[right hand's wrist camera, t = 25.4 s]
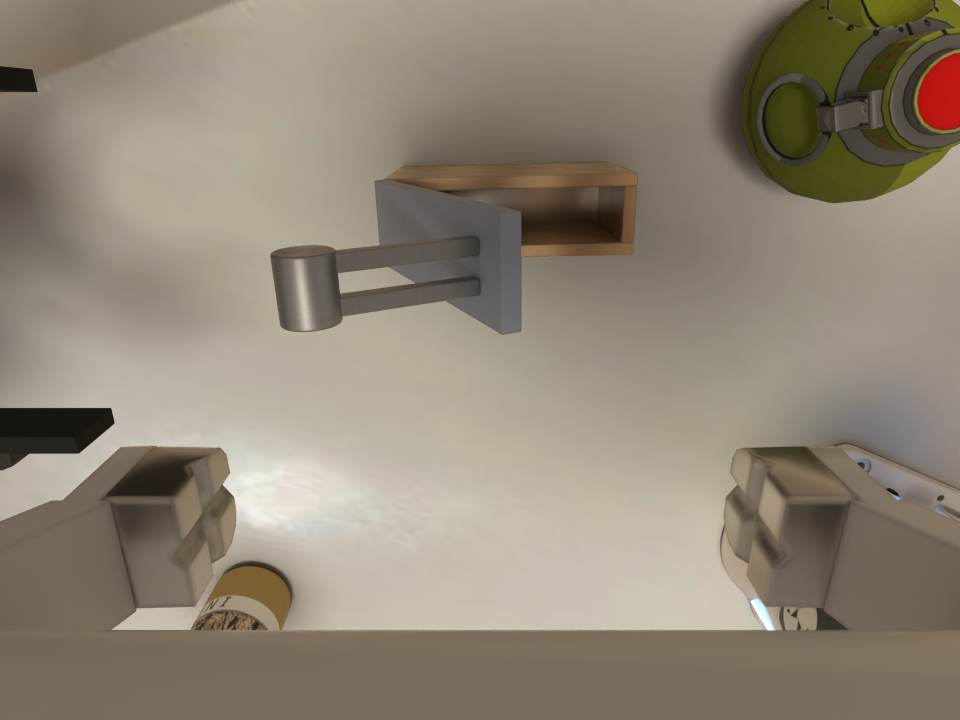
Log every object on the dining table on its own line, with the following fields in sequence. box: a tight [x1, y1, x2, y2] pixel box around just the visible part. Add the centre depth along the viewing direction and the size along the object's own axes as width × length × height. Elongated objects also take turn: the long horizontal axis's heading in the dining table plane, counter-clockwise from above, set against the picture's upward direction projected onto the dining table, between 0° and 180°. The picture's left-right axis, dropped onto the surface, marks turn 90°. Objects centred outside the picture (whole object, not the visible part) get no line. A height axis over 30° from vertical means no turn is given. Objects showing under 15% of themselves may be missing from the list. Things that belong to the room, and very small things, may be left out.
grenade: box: [741, 0, 960, 203], centre depth 35 cm, size 12×12×15 cm
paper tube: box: [191, 566, 291, 630], centre depth 46 cm, size 7×7×25 cm
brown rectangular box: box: [384, 162, 638, 257], centre depth 41 cm, size 14×5×9 cm, turn 91°
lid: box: [270, 180, 521, 335], centre depth 28 cm, size 15×5×9 cm
